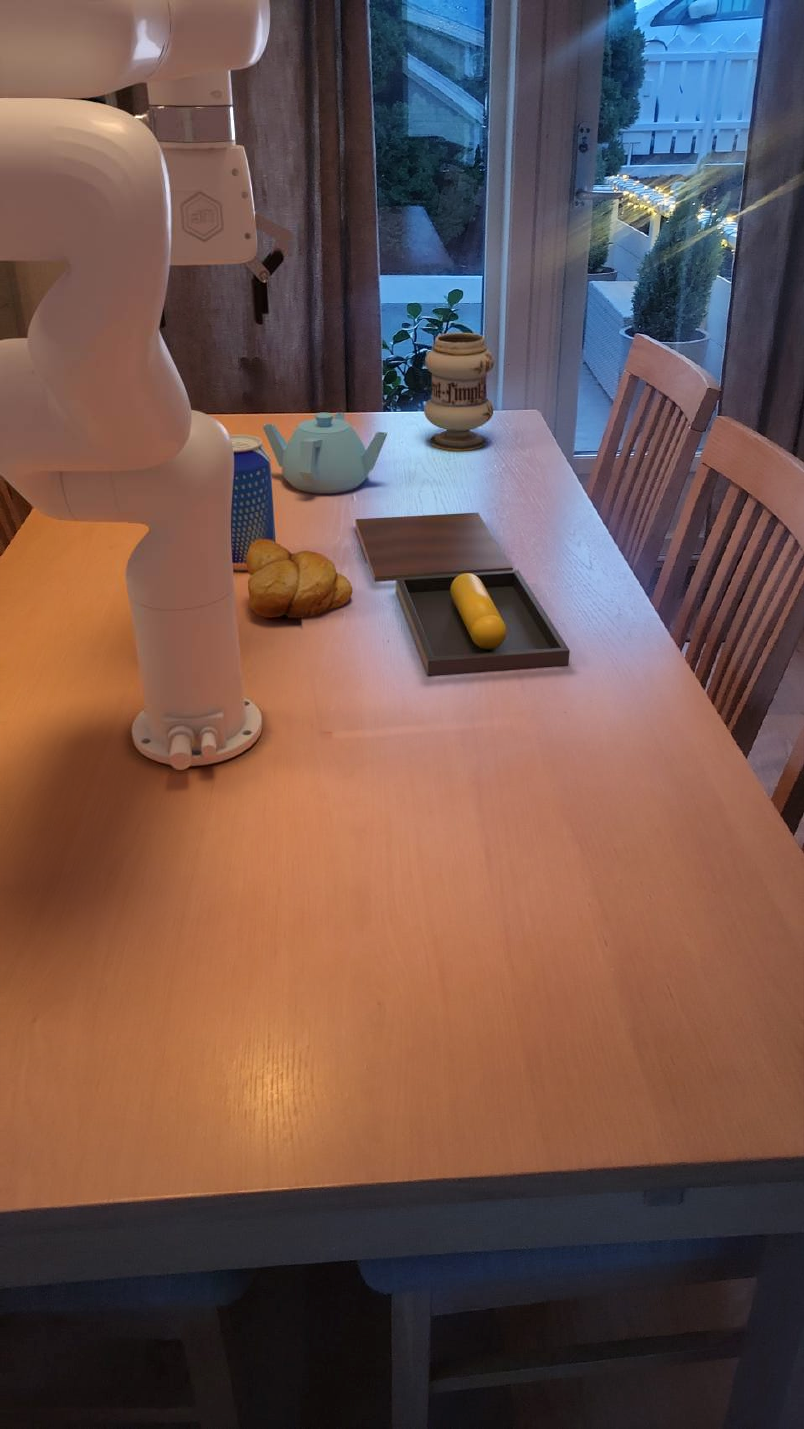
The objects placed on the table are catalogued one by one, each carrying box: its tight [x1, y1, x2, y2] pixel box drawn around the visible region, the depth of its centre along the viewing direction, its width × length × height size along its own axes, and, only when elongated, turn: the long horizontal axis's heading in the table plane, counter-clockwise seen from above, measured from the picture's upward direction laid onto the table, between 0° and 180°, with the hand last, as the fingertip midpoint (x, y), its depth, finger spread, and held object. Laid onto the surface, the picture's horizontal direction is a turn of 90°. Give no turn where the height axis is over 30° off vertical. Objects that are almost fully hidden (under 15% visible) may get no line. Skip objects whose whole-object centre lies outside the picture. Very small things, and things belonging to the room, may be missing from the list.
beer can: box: [229, 434, 277, 571], centre depth 133 cm, size 8×8×16 cm
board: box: [354, 512, 514, 582], centre depth 140 cm, size 20×18×2 cm
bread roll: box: [246, 538, 353, 619], centre depth 123 cm, size 13×10×8 cm
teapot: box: [262, 412, 388, 495], centre depth 162 cm, size 15×15×11 cm
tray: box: [395, 569, 571, 677], centre depth 119 cm, size 22×16×3 cm
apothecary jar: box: [423, 332, 495, 452], centre depth 177 cm, size 12×12×18 cm
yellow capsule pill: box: [450, 573, 506, 649], centre depth 119 cm, size 15×4×4 cm, turn 9°
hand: (210, 323), depth 104 cm, fingers open, 9 cm apart
